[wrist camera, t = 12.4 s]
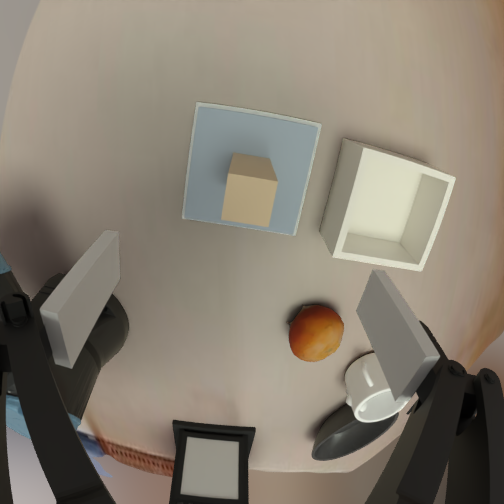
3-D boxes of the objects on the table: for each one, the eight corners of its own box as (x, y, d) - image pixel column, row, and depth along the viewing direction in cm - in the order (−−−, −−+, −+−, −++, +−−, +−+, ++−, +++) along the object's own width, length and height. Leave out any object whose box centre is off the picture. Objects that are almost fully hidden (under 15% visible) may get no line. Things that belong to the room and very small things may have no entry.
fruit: (292, 292, 42) (328, 335, 37) (328, 291, 47) (361, 327, 42) (265, 333, 46) (295, 375, 40) (301, 329, 50) (330, 365, 45)
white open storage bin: (319, 230, 40) (332, 257, 33) (343, 137, 34) (363, 147, 28) (399, 245, 41) (421, 271, 35) (426, 163, 35) (455, 177, 29)
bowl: (294, 433, 62) (296, 456, 56) (365, 377, 53) (374, 402, 48) (333, 442, 65) (337, 463, 59) (402, 391, 56) (411, 413, 51)
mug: (325, 360, 51) (336, 402, 42) (380, 331, 48) (399, 371, 40) (351, 392, 55) (361, 430, 47) (399, 368, 53) (414, 404, 45)
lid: (185, 215, 38) (164, 258, 28) (199, 106, 32) (179, 110, 22) (291, 231, 39) (306, 279, 29) (316, 126, 33) (344, 139, 23)
